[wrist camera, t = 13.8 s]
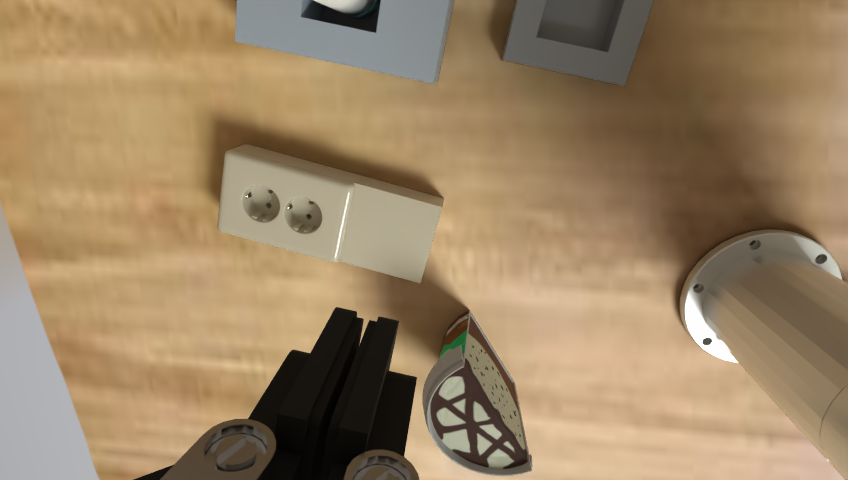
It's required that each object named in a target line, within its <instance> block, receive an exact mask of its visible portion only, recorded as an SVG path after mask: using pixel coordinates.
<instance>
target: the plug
mask: <svg viewBox="0 0 848 480" xmlns="http://www.w3.org/2000/svg"><path fill="white" fill-rule="evenodd" d="M314 1H316V2H318V3H321V4H323V5H325V6H328V7H330V8H332V9H334V10H337V11H339V12H341V13H344V14H346V15H348V16H351V17H353V18H358V19H362V18H367V17H369V16H371V15H372V14H374V13H375V12H376V10H377V9H378V8H379V6H380V3H381V0H314Z"/></svg>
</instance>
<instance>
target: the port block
mask: <svg viewBox="0 0 848 480" xmlns="http://www.w3.org/2000/svg"><path fill="white" fill-rule="evenodd" d="M453 3H454V0H381V3H380V6H379V8H378V9H377V10H376V12H375V13H374V14H372V15H371V16H369V17H367V18H362V19H358V18H353V17H351V16H348V15H346V14H344V13H341V12H339V11H337V10H334V9H332V8H330V7H328V6H325V5H323V4H321V3H318V2H316V1H314V0H237V11H236V33H235V42H240V43H245V44H249V45H254V46H259V47H263V48H268V49H273V50H277V51H282V52H287V53H291V54H296V55H301V56H305V57H310V58H315V59H320V60H324V61H329V62H334V63H338V64H343V65H348V66H352V67H357V68H362V69H366V70H371V71H376V72H380V73H385V74H390V75H394V76H399V77H404V78H408V79H413V80H418V81H423V82H427V83H432V84H434V83H436V82H438V78H439V73H440V68H441V63H442V58H443V53H444V48H445V43H446V38H447V33H448V28H449V23H450V18H451V13H452V8H453Z"/></svg>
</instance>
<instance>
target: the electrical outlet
mask: <svg viewBox="0 0 848 480" xmlns="http://www.w3.org/2000/svg"><path fill="white" fill-rule="evenodd" d="M443 201H444V198H441V197H437V196H434V195H430V194H426V193H423V192H419V191H416V190H412V189H408V188H405V187H401V186H398V185H394V184H390V183H387V182H383V181H379V180H376V179H372V178H369V177H364V176H361V175H358V174H354V173H350V172H347V171H343V170H340V169H336V168H332V167H329V166H325V165H322V164H318V163H314V162H311V161H307V160H303V159H300V158H296V157H293V156H289V155H285V154H282V153H278V152H274V151H271V150H267V149H264V148H260V147H256V146H253V145H249V144H245V145H242V146H239V147H236V148H233V149H230V150H227V151H226V152H225V155H224V165H223V175H222V185H221V194H220V204H219V214H218V224H217V229H218V230H219V231H220V232H223V233H227V234H231V235H234V236H238V237H242V238H245V239H249V240H252V241H256V242H260V243H263V244H267V245H271V246H274V247H278V248H282V249H285V250H289V251H292V252H296V253H300V254H303V255H307V256H311V257H314V258H318V259H322V260H325V261H329V262H332V263H336V262H338V261H340V262H344V263H348V264H351V265H355V266H358V267H362V268H366V269H369V270H373V271H377V272H380V273H384V274H388V275H391V276H395V277H398V278H402V279H406V280H409V281H413V282H417V283H421V280H422V276H423V273H424V269H425V266H426V262H427V259H428V255H429V252H430V248H431V245H432V241H433V238H434V234H435V231H436V227H437V224H438V220H439V217H440V213H441V210H442V206H443Z"/></svg>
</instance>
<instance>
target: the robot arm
mask: <svg viewBox="0 0 848 480" xmlns="http://www.w3.org/2000/svg"><path fill="white" fill-rule="evenodd" d="M680 314H681V320H682V322H683V325H684V327H685V329H686V331H687V332H688V334H689V335H690V336H691V338H692V339H693V340H694V341H695V342H696V344H697V345H698V346H699V347H700V348H702V349H703V350H705V351H706V352H707V353H709V354H710V355H712V356H715V357H717V358H720V359H722V360H726V361H730V362H735V363H739V364H740V365H741V366H742V367H743V368H744V369H745V371H746V372H747V373H748V374H749V375H750V376H751V377H752V378H753V379H754V380H755V382H756V383H757V384H758V385H759V386H760V387H761V388H762V389H763V390H764V391H765V393H766V394H767V395H768V396H769V397H770V398H771V399H772V400H773V401H774V402H775V404H776V405H777V406H778V407H779V408H780V409H781V410H782V411H783V412H784V413H785V415H786V416H787V417H788V418H789V419H790V420H791V421H792V422H793V423H794V424H795V426H796V427H797V428H798V429H799V430H800V431H801V432H802V433H803V434H804V435H805V437H806V438H807V439H808V440H809V441H810V442H811V443H812V444H813V445H814V446H815V448H816V449H817V450H818V451H819V452H820V453H821V454H822V455H823V456H824V457H825V458H826V459H827V460H828V461H829V462H830V464H831V465H832V466H833V467H834V468H835V469H836V470H837V471H838V472H839V473H840V475H841V476H842V477H843V478H844V479H845V480H848V283H846V282H844V281H843V280H842V275H841V272H840V269H839V266H838V264H837V262H836V261H835V259H834V257H833V256H832V254H831V253H830V252H828V251H827V250H826V249H825V248H824V247H823V246H822V245H820V244H818V243H817V242H815V241H813V240H811V239H810V238H807V237H805V236H803V235H800V234H798V233H795V232H790V231H786V230H771V229H767V230H759V231H752V232H748V233H745V234H742V235H738V236H735V237H733V238H731V239H729V240H727V241H725V242H723V243H721V244H720V245H718V246H717V247H715V248H714V249H712V250H711V251H709V252H708V253H707V254H706V255H705V256H704V257H703V258H702V259H701V260H699V261H698V263H697V264H696V265H695V267H694V268H693V269H692V270H691V272H690V273H689V275H688V277H687V279H686V281H685V283H684V285H683V289H682V292H681V296H680ZM398 324H399V321H397V320H392V319H388V318H383V317H378V320H377V322H376V321H371V320H369V322H368V325H367V328H366V330H365V333H364V335H363V338H362V340H361V343H360V338H361V332H362V327H363V319H362V318H357V312H356V311H352V310H347V309H343V308H338V307H336V308H335V310H334V311H333V313H332V315H331V317H330V319H329V320H328V322H327V324H326V326H325V328H324V330H323V331H322V333H321V335H320V337H319V339H318V340H317V342H316V344H315V346H314V348H313V350H312V351H311V353H306V352H301V351H297V350H292V351H291V352H290V353H289V354H288V356H287V357H286V359H285V361H284V362H283V364H282V365H281V367H280V369H279V370H278V372H277V373H276V375H275V377H274V378H273V380H272V381H271V383H270V385H269V386H268V388H267V389H266V391H265V393H264V394H263V396H262V397H261V399H260V401H259V402H258V404H257V405H256V407H255V409H254V410H253V412H252V413H251V415H250V417H249V418H248V419H234V420H230V421H225V422H222V423H220V424H218V425H216V426H214V427H212V428H211V429H210V430H208V431H207V432H206V433H205V434H203V435H202V436H201V437H200V438H199V439H198V441H197V442H196V443H195V444H194V445H193V446H192V447H191V448H190V449H189V450H188V451H187V452H186V453H185V454H184V455H183V456H182V457H181V458H180V459H179V460H178V461H177V462H176V463H175V464H174V465H172V466H169V467H166V468H164V469H161V470H158V471H156V472H153V473H150V474H148V475H145V476H142V477H140V478H137V479H134V480H419V477H418V473H417V471H416V470H415V468H414V466H413V465H412V464H411V463H410V462H409V461H408V460H407V459H406V458H405V457H404V453H405V447H406V441H407V434H408V428H409V422H410V416H411V410H412V404H413V398H414V392H415V386H416V380H417V377H414V376H409V375H405V374H400V373H396V372H391V371H389V368H390V363H391V358H392V353H393V349H394V344H395V339H396V334H397V329H398ZM359 344H360V346H359Z"/></svg>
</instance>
